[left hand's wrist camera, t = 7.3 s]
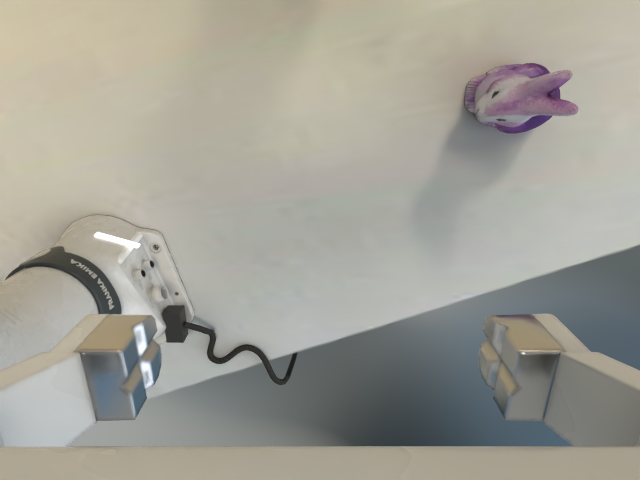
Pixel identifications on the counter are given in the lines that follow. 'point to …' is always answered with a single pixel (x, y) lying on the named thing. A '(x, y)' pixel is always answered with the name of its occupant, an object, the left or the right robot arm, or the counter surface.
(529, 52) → the counter surface
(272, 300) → the counter surface
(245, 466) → the left robot arm
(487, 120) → the figurine
